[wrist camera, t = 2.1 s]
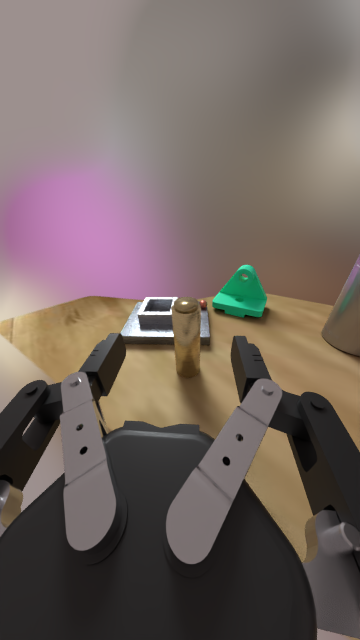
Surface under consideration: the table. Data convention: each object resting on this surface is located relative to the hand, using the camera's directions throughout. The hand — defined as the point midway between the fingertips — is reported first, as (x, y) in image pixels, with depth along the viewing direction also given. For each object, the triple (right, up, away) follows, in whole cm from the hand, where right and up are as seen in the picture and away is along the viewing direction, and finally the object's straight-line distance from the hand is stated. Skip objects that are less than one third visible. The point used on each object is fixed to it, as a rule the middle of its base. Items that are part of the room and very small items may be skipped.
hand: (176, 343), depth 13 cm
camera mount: (+15, +4, +34) cm, 38 cm away
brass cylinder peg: (+2, -7, +18) cm, 19 cm away
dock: (-2, +1, +29) cm, 29 cm away
